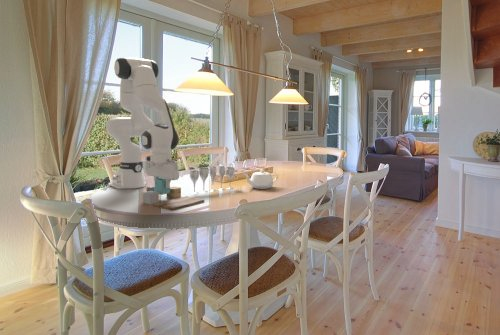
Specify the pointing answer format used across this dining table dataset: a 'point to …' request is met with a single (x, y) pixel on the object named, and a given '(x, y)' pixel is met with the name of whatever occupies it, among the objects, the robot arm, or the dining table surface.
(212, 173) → the goblet set
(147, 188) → the charcoal cylinder
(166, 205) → the walnut board
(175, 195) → the oak block
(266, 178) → the teapot
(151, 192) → the grey block
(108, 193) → the dining table surface
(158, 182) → the teal block
